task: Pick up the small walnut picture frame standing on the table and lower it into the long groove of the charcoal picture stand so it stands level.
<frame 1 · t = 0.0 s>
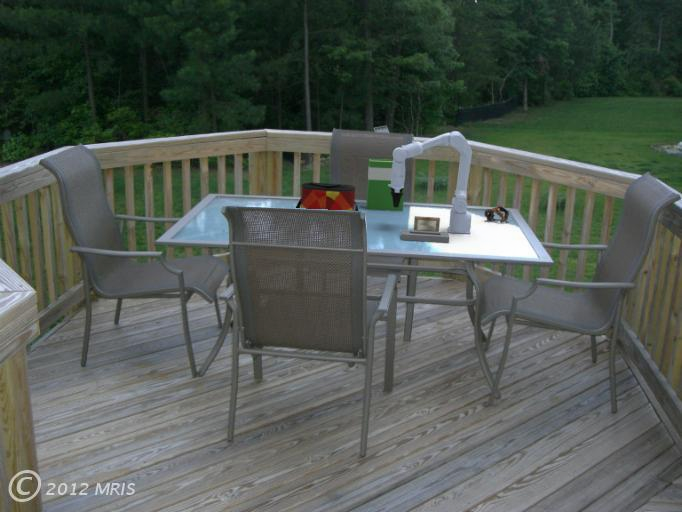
hand: (395, 205, 332), 10 cm above the table, tool pointing down, fingers open, 7 cm apart
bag: (325, 218, 346), on the table
hardback book: (384, 209, 369), on the table
dark brown curved piece: (494, 221, 355), on the table
stand: (424, 239, 318), on the table
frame: (426, 232, 328), on the table
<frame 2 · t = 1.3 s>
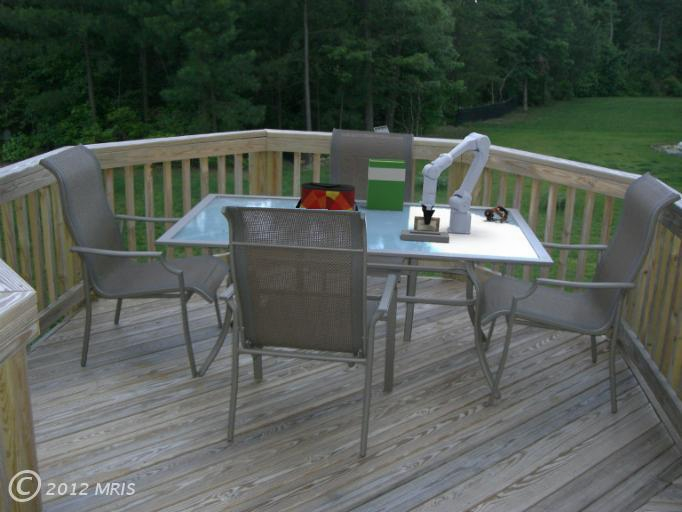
hand: (426, 222, 327), 5 cm above the table, tool pointing down, fingers open, 7 cm apart
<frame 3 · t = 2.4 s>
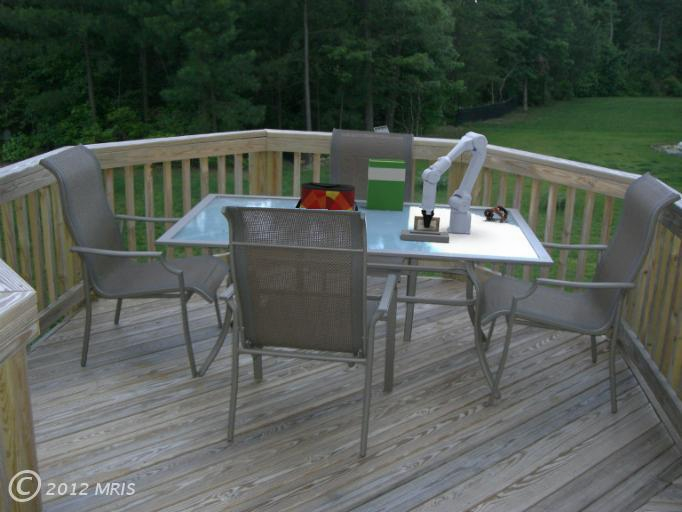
hand: (426, 226, 327), 3 cm above the table, tool pointing down, fingers closed on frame, 2 cm apart
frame: (426, 232, 328), on the table, touching gripper
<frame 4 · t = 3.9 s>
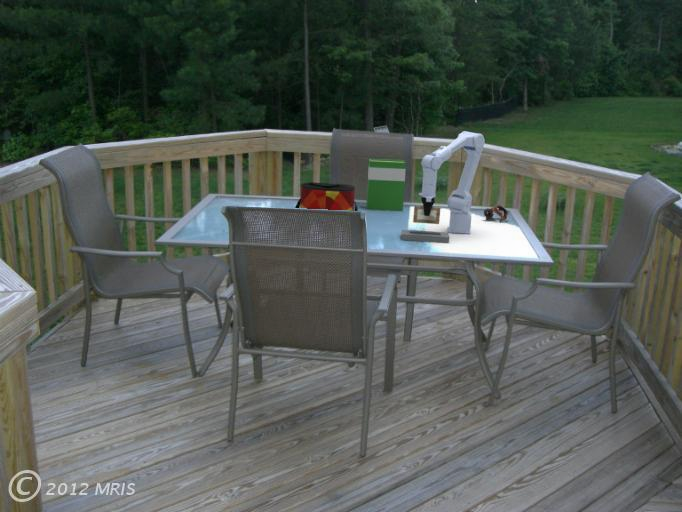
hand: (426, 215, 318), 10 cm above the table, tool pointing down, fingers closed on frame
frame: (426, 222, 319), point 6 cm above the table, touching gripper
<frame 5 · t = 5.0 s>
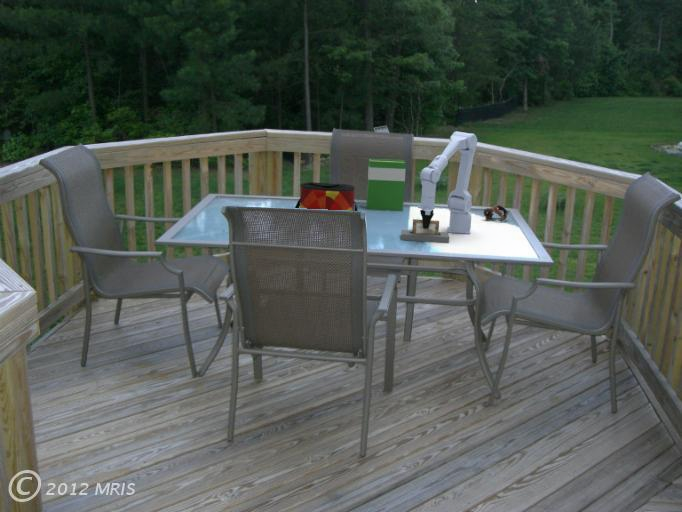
hand: (425, 227, 316), 5 cm above the table, tool pointing down, fingers closed on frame, 2 cm apart
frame: (424, 236, 317), point 1 cm above the table, touching gripper
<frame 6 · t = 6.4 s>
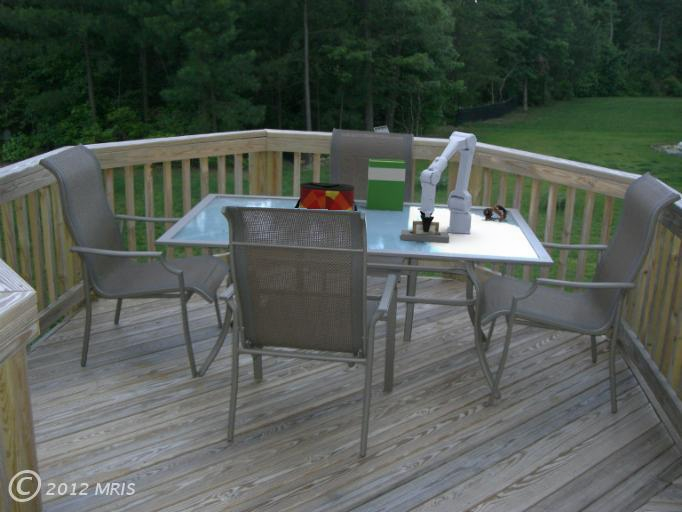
hand: (425, 229, 316), 4 cm above the table, tool pointing down, fingers open, 7 cm apart
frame: (424, 237, 317), resting on stand
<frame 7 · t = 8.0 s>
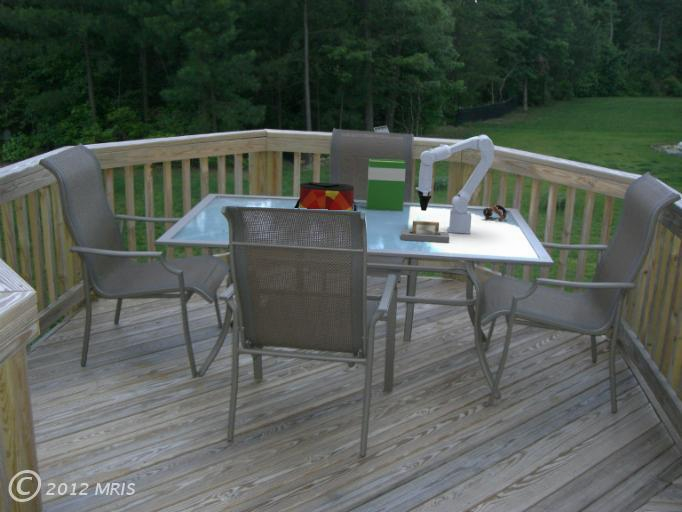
hand: (423, 208, 331), 9 cm above the table, tool pointing down, fingers open, 7 cm apart
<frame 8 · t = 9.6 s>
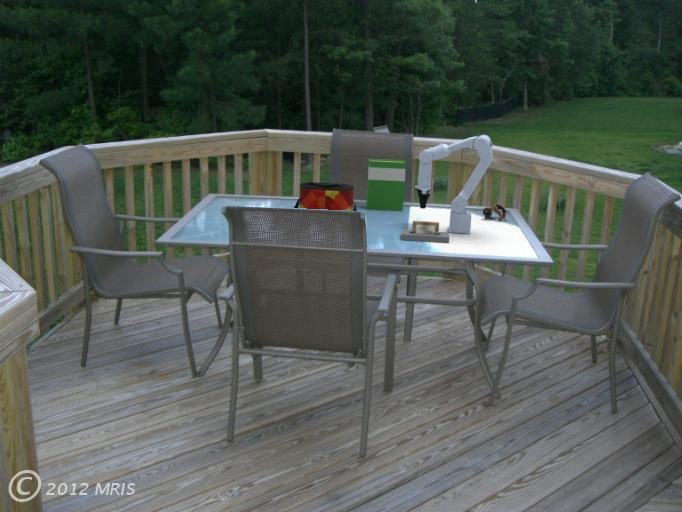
hand: (422, 206, 335), 9 cm above the table, tool pointing down, fingers open, 7 cm apart
at the end: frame 0.1 cm off-centre on the stand, point 0.5 cm above the stand's base; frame tilted 0°; the gripper is holding nothing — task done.
